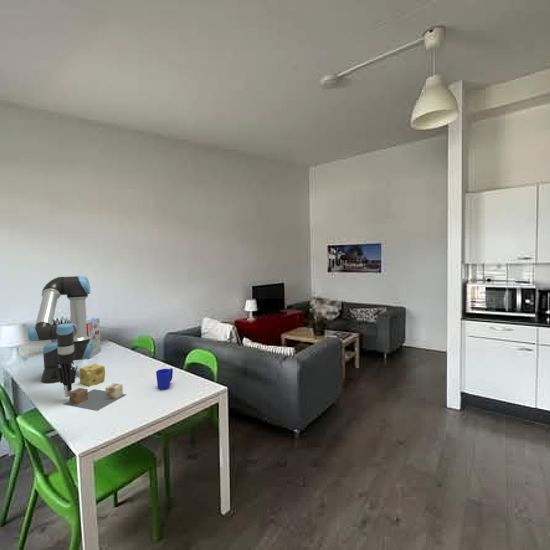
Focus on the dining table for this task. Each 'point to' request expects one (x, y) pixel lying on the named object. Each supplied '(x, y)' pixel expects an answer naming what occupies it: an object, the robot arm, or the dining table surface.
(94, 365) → the cheese
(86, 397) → the walnut block
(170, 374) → the mug
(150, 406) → the dining table surface
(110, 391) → the maple block
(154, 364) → the dining table surface
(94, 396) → the rubber mat
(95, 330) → the game box
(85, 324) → the robot arm
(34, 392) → the dining table surface
